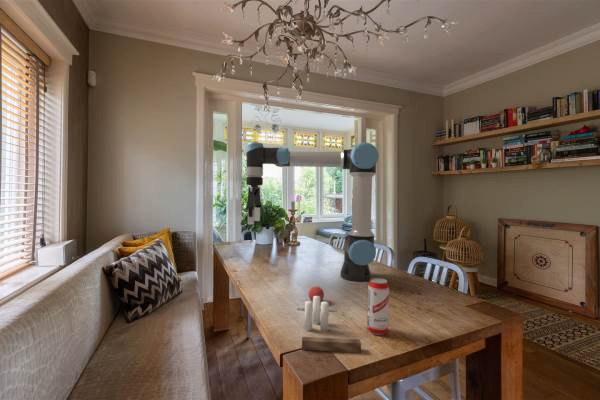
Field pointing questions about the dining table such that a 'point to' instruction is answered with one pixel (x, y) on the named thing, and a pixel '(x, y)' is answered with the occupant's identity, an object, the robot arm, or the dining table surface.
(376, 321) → the beer can
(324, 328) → the pin back right
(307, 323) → the pin back left
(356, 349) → the back wall
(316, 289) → the ball
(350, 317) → the dining table surface
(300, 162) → the robot arm
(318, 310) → the pin front
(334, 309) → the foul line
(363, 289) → the dining table surface
